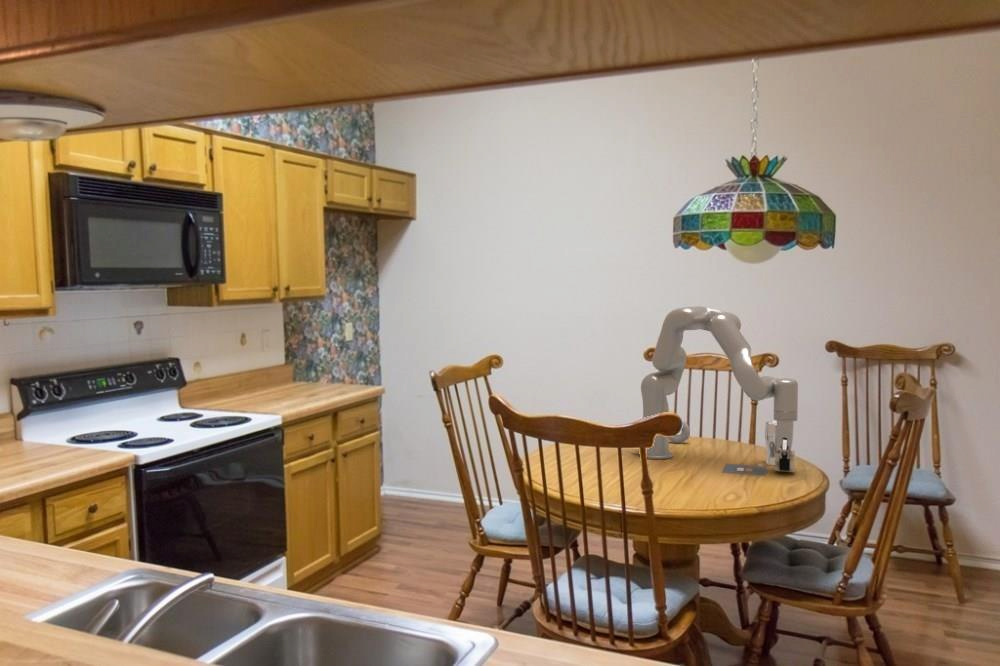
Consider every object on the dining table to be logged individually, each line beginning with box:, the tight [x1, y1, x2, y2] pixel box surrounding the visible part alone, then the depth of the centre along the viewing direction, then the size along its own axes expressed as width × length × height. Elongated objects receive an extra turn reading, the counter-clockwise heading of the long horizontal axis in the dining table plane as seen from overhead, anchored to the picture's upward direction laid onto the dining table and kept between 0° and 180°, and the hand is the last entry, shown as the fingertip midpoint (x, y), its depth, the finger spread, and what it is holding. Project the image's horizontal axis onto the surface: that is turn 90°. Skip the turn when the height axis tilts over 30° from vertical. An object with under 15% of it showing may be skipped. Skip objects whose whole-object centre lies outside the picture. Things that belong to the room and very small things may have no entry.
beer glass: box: [764, 421, 780, 466], centre depth 267 cm, size 7×7×15 cm
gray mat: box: [721, 463, 768, 477], centre depth 259 cm, size 14×14×1 cm
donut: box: [669, 420, 691, 444], centre depth 305 cm, size 10×3×10 cm, turn 68°
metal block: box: [774, 449, 796, 473], centre depth 254 cm, size 6×6×6 cm
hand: (784, 467), depth 254 cm, fingers closed on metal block, 5 cm apart
